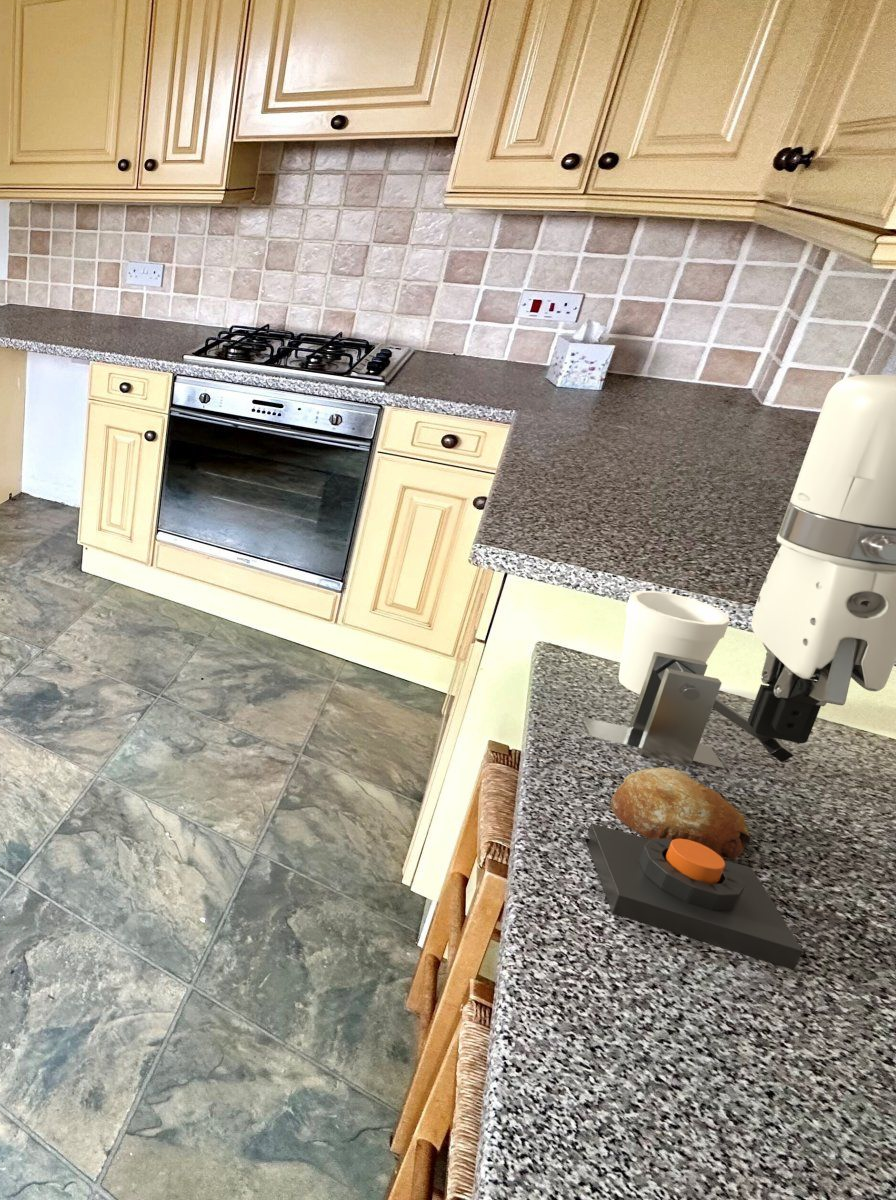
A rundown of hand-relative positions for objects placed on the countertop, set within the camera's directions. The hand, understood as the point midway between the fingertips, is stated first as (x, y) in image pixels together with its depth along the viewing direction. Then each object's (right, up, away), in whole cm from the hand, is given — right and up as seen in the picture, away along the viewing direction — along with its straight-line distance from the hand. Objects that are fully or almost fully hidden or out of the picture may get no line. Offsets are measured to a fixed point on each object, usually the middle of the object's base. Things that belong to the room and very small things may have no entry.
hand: (775, 733), depth 66 cm
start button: (-3, -14, +4) cm, 15 cm away
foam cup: (+23, -7, +37) cm, 45 cm away
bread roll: (+4, -15, +14) cm, 20 cm away
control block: (-3, -17, +5) cm, 18 cm away
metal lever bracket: (+11, -11, +24) cm, 29 cm away
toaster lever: (+15, -4, +20) cm, 25 cm away
